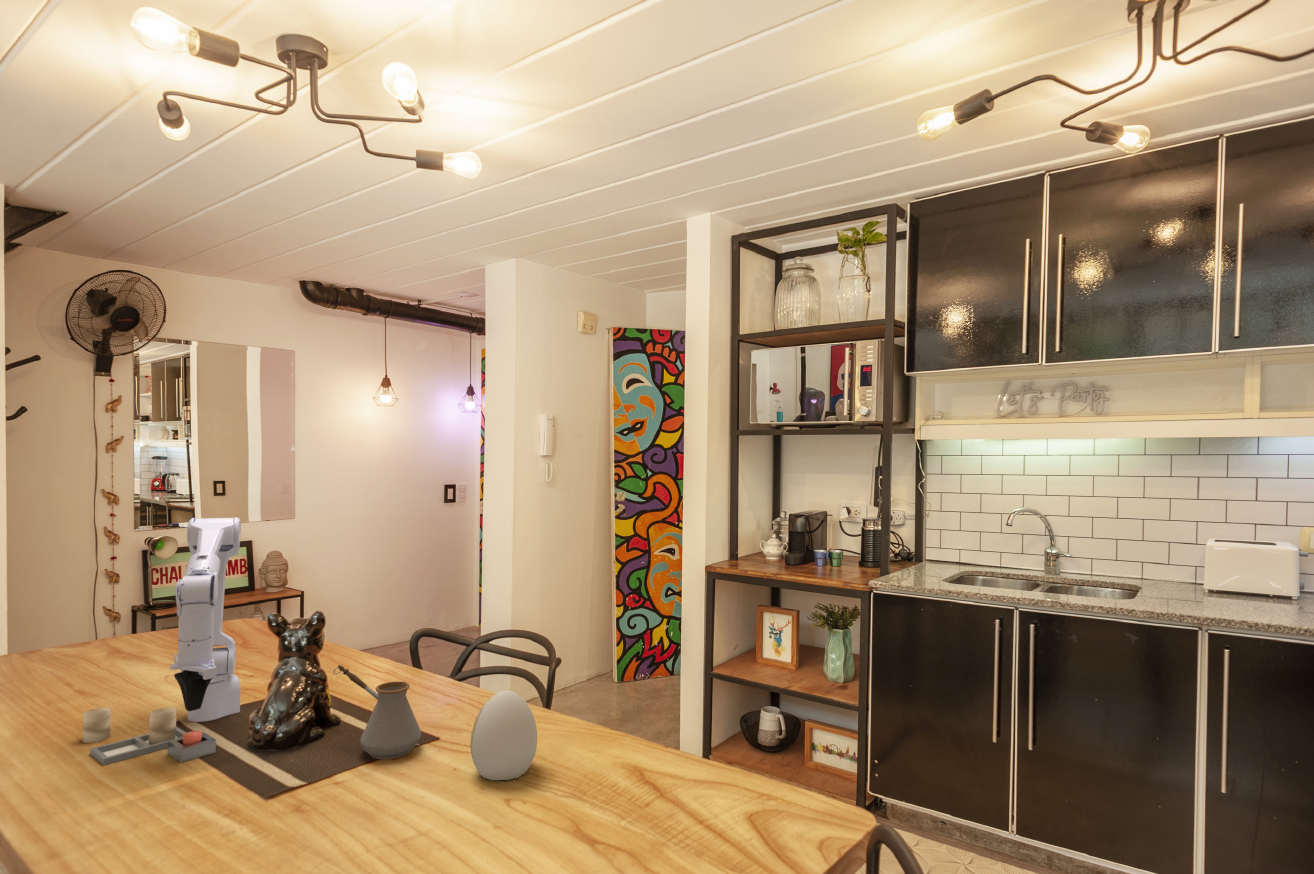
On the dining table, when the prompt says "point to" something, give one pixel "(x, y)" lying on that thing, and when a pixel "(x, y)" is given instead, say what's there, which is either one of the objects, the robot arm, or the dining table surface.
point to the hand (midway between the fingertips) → (193, 709)
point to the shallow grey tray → (129, 748)
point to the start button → (192, 737)
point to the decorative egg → (504, 737)
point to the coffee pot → (388, 720)
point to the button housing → (191, 748)
